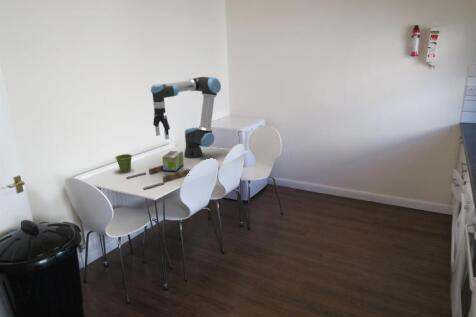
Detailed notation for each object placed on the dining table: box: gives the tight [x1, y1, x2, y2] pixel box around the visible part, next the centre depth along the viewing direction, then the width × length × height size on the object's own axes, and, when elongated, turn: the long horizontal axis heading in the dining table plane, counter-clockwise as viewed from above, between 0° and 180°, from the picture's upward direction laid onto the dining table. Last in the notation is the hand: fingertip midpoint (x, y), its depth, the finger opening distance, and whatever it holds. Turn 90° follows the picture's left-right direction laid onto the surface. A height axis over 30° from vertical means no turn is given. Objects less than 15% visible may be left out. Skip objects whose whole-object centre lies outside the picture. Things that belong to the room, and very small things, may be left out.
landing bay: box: [125, 172, 165, 191], centre depth 239 cm, size 14×28×1 cm, turn 40°
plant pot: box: [114, 153, 133, 173], centre depth 258 cm, size 12×12×11 cm
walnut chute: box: [148, 164, 191, 183], centre depth 250 cm, size 21×22×4 cm
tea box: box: [162, 150, 185, 176], centre depth 251 cm, size 15×10×15 cm
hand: (162, 137), depth 249 cm, fingers open, 13 cm apart
